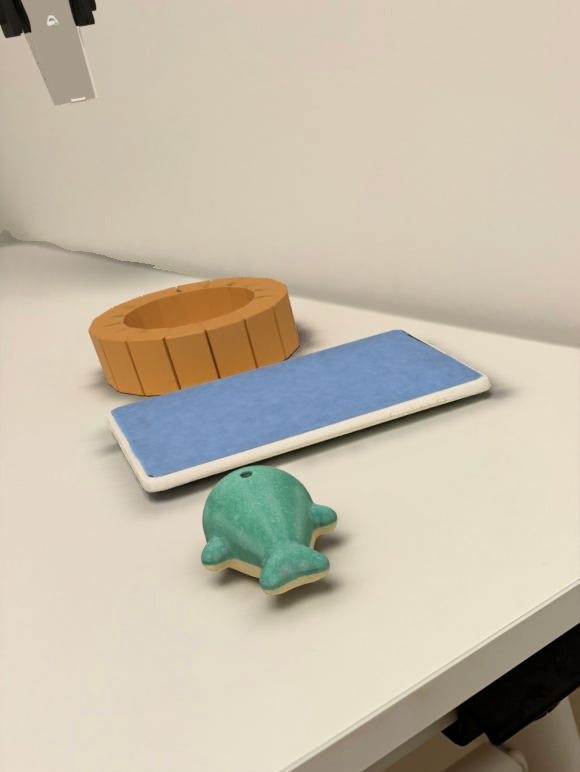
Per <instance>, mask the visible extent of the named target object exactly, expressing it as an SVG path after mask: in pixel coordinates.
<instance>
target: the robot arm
mask: <svg viewBox="0 0 580 772" xmlns="http://www.w3.org/2000/svg"><path fill="white" fill-rule="evenodd" d="M73 3H74V7H75V12H76V16H77V20H78V24H79V27H80V28H81V27H88V26H92V25H95V24H96V20H95V16H94V13H93V12H95V11H97V3H96V0H73ZM0 29H1V31H2V34H3V36H4V38H5V39H10V38H11V39H12V38H17V37H21V36H22V34H24V33H23V30H22V27H21V24H20V21H19V18H18V16H17V13H16V10H15V7H14V4H13V1H12V0H0Z"/></svg>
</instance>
